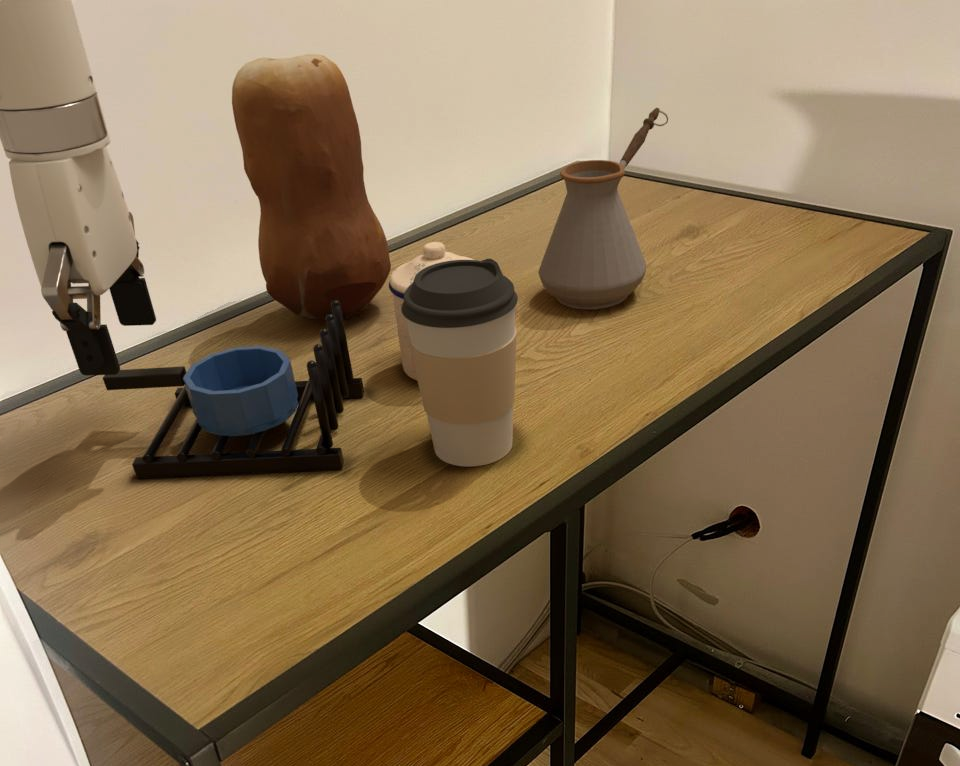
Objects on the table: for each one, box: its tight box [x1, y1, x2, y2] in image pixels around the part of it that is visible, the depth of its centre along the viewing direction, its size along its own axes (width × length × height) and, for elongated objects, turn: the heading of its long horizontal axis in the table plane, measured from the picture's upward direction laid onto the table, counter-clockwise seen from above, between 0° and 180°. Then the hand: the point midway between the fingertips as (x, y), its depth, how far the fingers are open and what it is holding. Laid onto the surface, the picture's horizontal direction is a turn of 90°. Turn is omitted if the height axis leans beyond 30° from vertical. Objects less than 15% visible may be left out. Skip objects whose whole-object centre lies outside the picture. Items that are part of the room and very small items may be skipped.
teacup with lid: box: [388, 241, 519, 382], centre depth 90 cm, size 12×9×12 cm
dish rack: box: [131, 300, 365, 480], centre depth 83 cm, size 18×14×9 cm
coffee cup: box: [401, 258, 519, 468], centre depth 77 cm, size 9×9×15 cm
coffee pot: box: [538, 107, 669, 310], centre depth 102 cm, size 21×12×15 cm, turn 147°
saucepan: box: [102, 345, 299, 437], centre depth 84 cm, size 16×9×4 cm, turn 87°
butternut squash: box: [231, 53, 392, 320], centre depth 97 cm, size 14×13×25 cm
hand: (120, 347), depth 81 cm, fingers open, 9 cm apart
